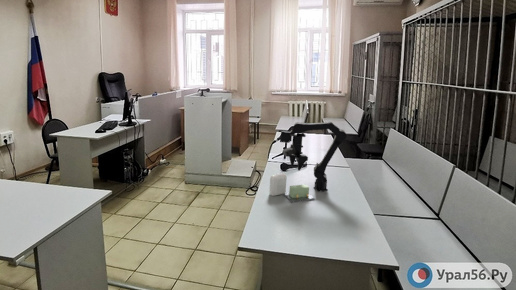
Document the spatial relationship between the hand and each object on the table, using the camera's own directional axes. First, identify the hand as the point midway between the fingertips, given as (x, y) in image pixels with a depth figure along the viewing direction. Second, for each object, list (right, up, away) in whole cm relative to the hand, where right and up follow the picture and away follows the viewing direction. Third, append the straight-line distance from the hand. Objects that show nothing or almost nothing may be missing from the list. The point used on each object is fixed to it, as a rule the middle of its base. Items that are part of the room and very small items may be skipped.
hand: (295, 168), depth 201 cm
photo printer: (-12, -14, -9) cm, 21 cm away
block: (0, -15, -14) cm, 20 cm away
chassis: (0, -16, -13) cm, 21 cm away
